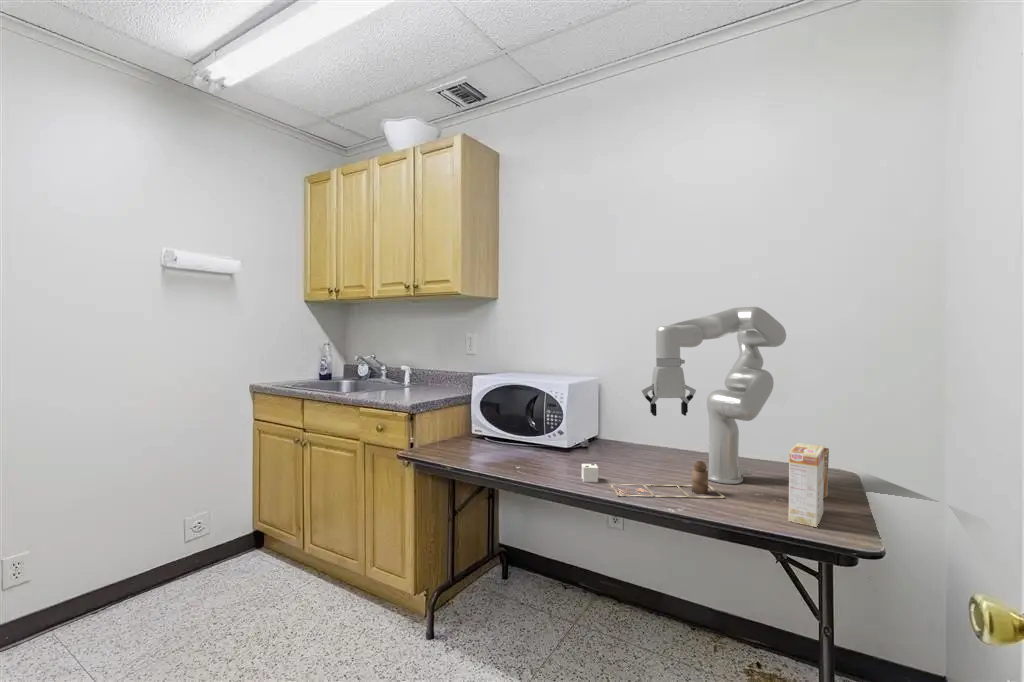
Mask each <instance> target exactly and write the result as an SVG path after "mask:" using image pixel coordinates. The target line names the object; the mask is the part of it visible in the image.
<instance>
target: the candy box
mask: <svg viewBox="0 0 1024 682" xmlns="http://www.w3.org/2000/svg"><path fill="white" fill-rule="evenodd" d="M829 451H830V449H829V448H828V447H824V493H823V499H824V498H825V499H826V497H828V485H829V484H828V481H829V480H828V479H829V457H830V455H829V454H830V452H829ZM825 499H824V500H825Z"/></svg>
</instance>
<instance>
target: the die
mask: <svg viewBox="0 0 1024 682" xmlns="http://www.w3.org/2000/svg"><path fill="white" fill-rule="evenodd" d="M582 479H583V480H582ZM581 480H582V482H583V483H599V466H598V465H597V464H596V463H581ZM584 481H585V482H584ZM586 481H587V482H586Z"/></svg>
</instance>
